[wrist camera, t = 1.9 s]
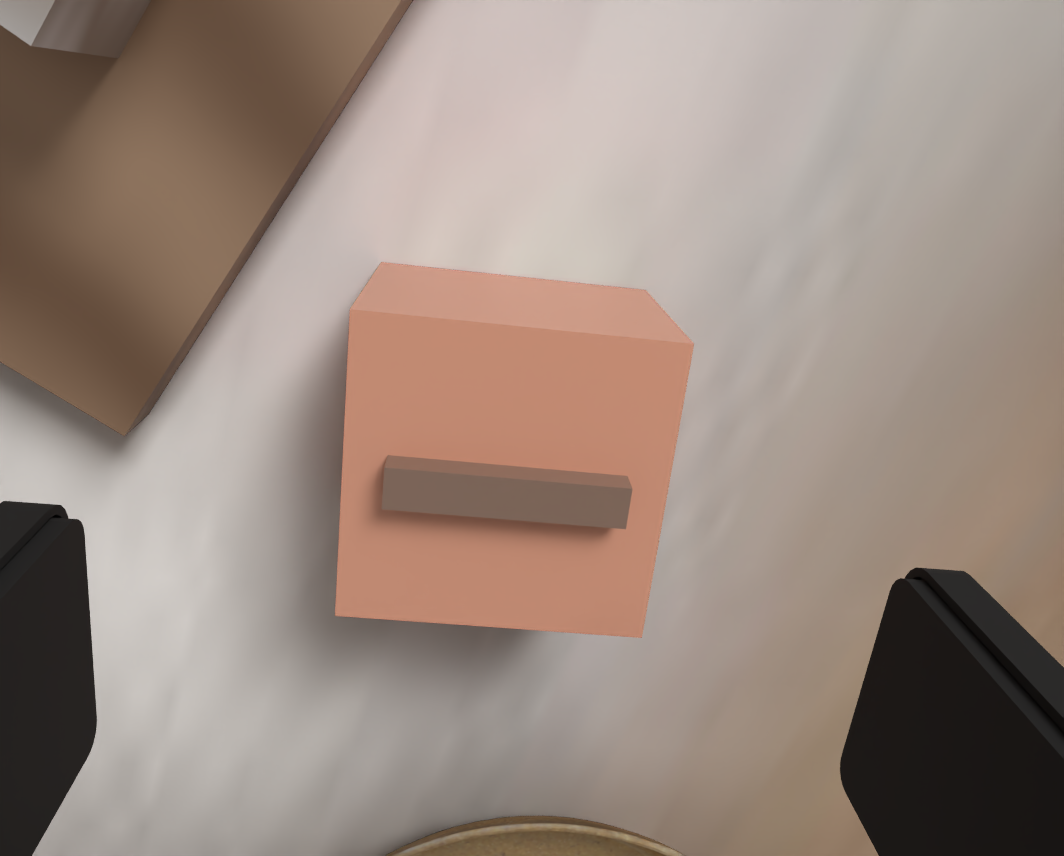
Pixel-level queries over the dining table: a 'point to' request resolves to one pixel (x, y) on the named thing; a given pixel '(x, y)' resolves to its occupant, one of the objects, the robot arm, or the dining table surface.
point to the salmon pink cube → (506, 450)
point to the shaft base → (153, 171)
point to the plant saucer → (535, 839)
